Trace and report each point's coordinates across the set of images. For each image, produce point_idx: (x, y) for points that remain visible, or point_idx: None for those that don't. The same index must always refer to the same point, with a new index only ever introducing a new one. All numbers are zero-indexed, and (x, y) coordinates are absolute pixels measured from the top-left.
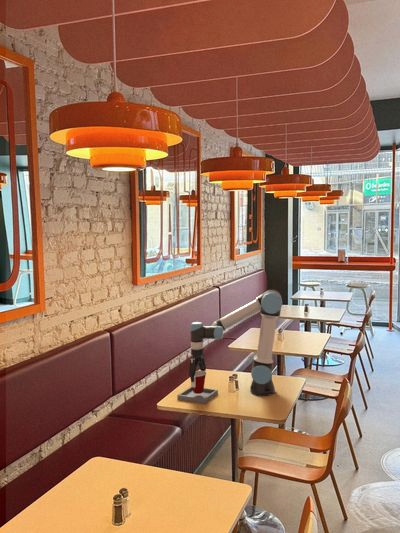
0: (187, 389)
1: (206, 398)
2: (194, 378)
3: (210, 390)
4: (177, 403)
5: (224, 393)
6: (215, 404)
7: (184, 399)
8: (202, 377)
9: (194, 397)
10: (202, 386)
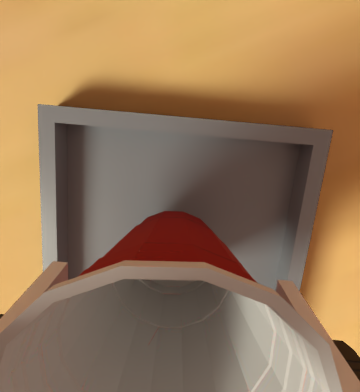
0: None
1: (285, 126)
2: (349, 372)
3: (60, 175)
4: (346, 316)
5: (6, 55)
6: (297, 31)
7: None
8: (238, 273)
9: (306, 231)
10: (195, 225)
